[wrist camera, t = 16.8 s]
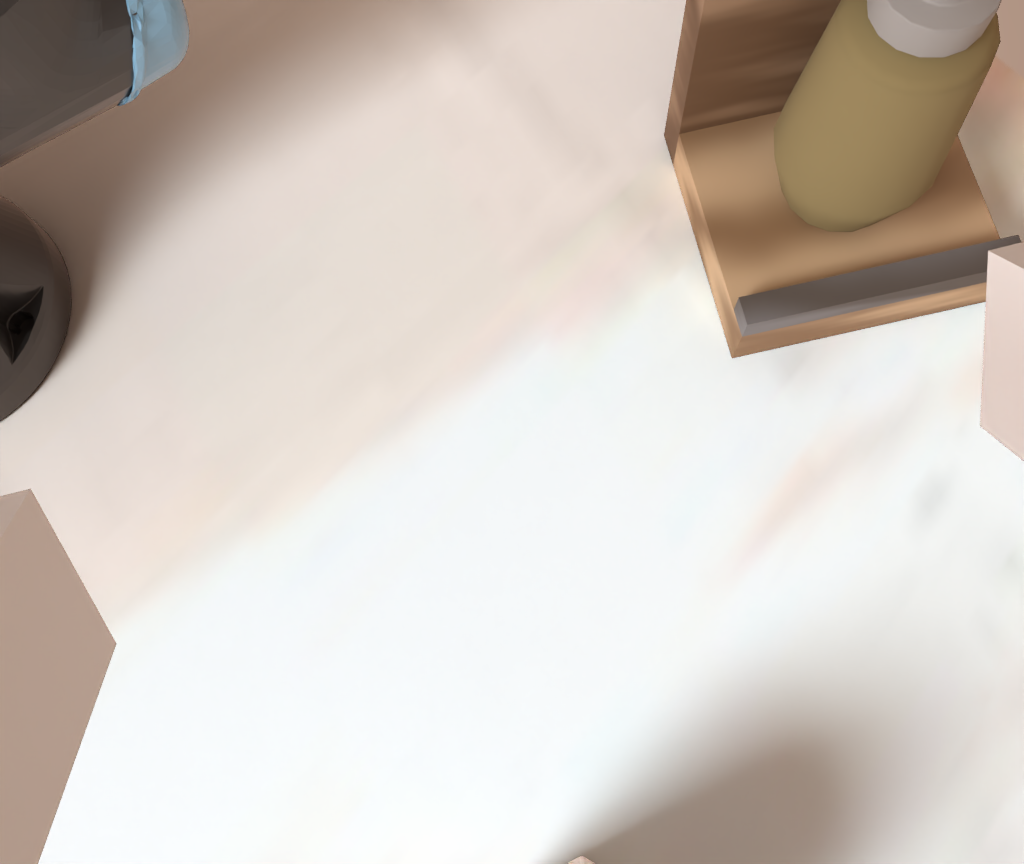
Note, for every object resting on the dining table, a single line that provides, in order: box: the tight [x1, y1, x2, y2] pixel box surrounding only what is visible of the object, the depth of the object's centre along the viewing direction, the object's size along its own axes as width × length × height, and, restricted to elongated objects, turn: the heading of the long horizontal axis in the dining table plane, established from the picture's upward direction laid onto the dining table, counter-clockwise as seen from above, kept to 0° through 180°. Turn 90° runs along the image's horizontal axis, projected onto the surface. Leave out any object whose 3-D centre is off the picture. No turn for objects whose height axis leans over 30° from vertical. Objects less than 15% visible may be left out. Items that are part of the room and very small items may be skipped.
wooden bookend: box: [664, 0, 1021, 358], centre depth 39 cm, size 14×14×26 cm
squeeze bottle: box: [774, 0, 1001, 232], centre depth 40 cm, size 8×8×18 cm
